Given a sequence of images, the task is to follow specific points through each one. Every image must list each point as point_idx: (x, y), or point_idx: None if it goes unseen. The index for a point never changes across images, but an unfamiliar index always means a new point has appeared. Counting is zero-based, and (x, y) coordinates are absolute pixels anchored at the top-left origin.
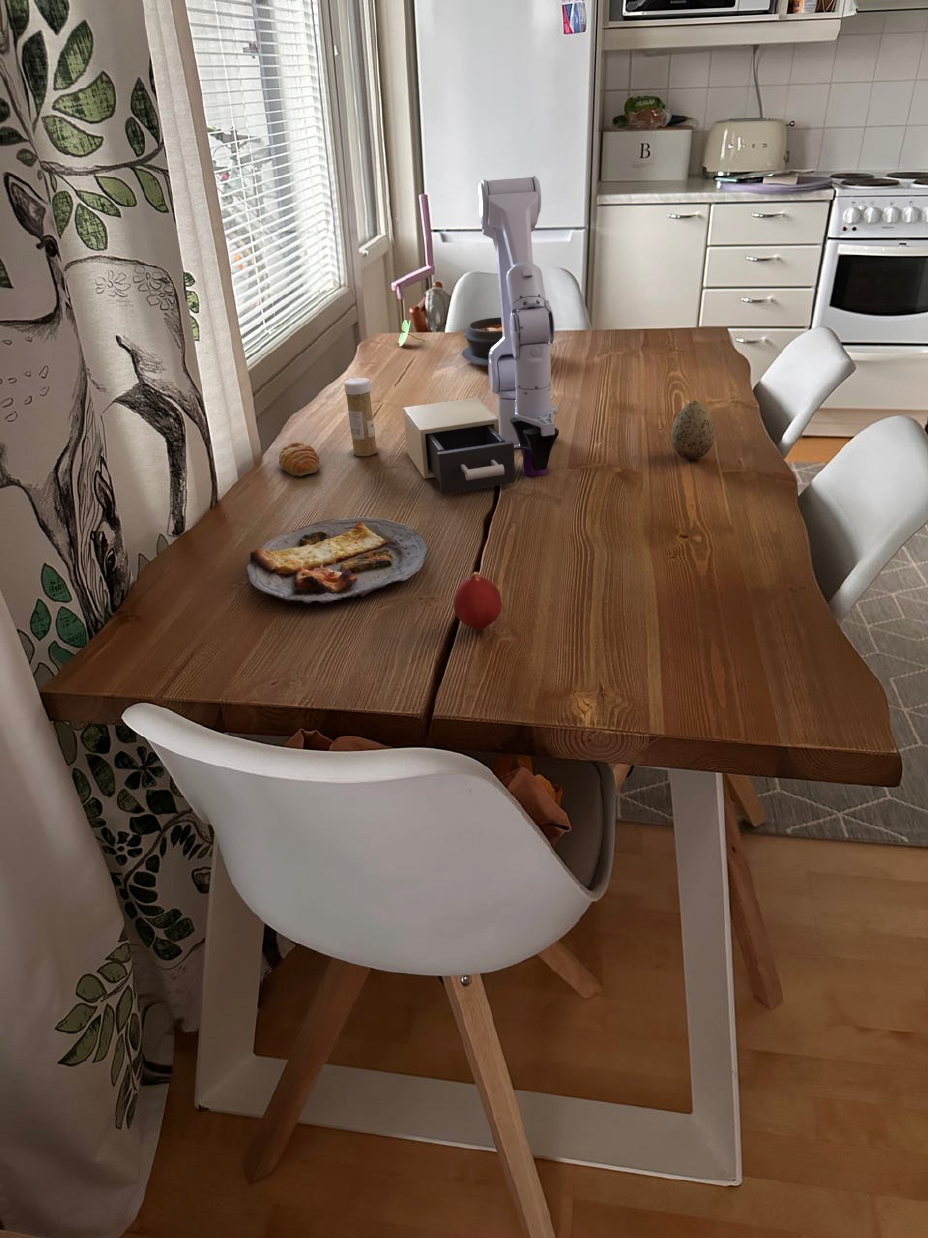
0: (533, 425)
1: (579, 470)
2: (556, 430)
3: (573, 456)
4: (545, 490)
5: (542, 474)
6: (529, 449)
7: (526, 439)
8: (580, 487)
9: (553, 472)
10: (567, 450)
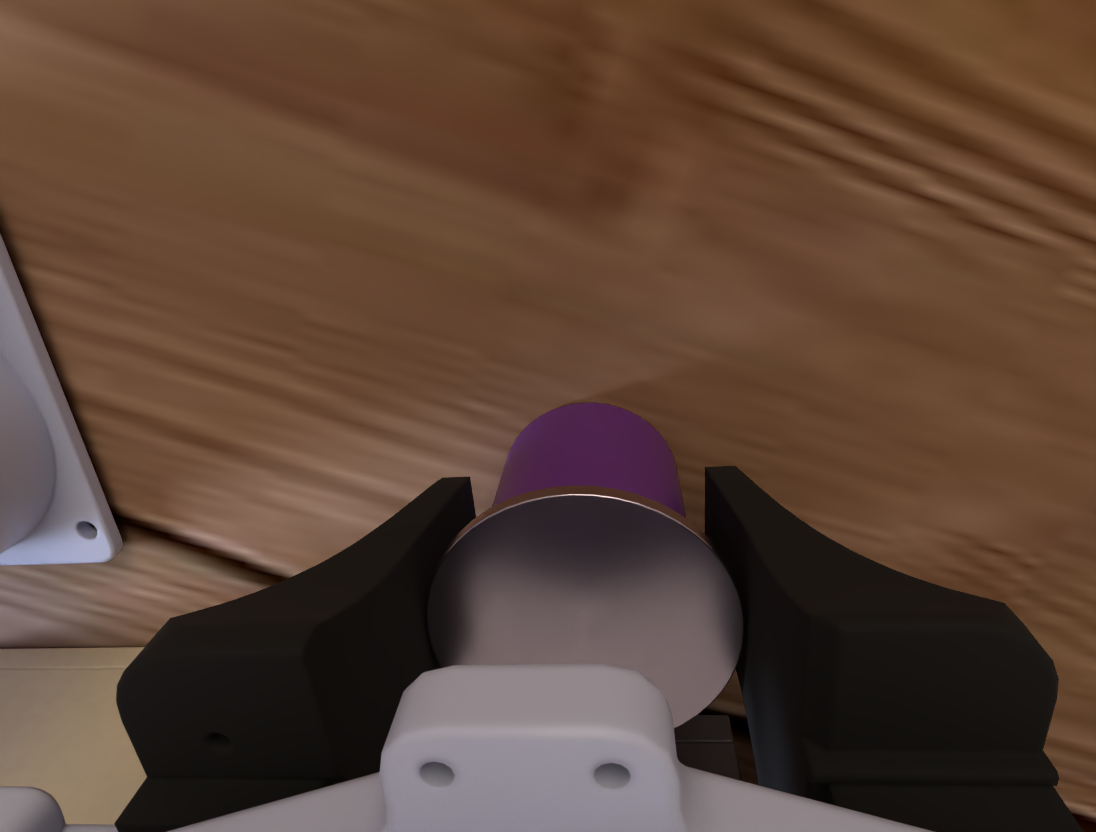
0: (378, 699)
1: (692, 141)
2: (983, 656)
3: (333, 89)
4: (964, 508)
5: (670, 452)
6: (712, 696)
7: (452, 663)
8: (1069, 253)
9: (649, 362)
10: (170, 99)
